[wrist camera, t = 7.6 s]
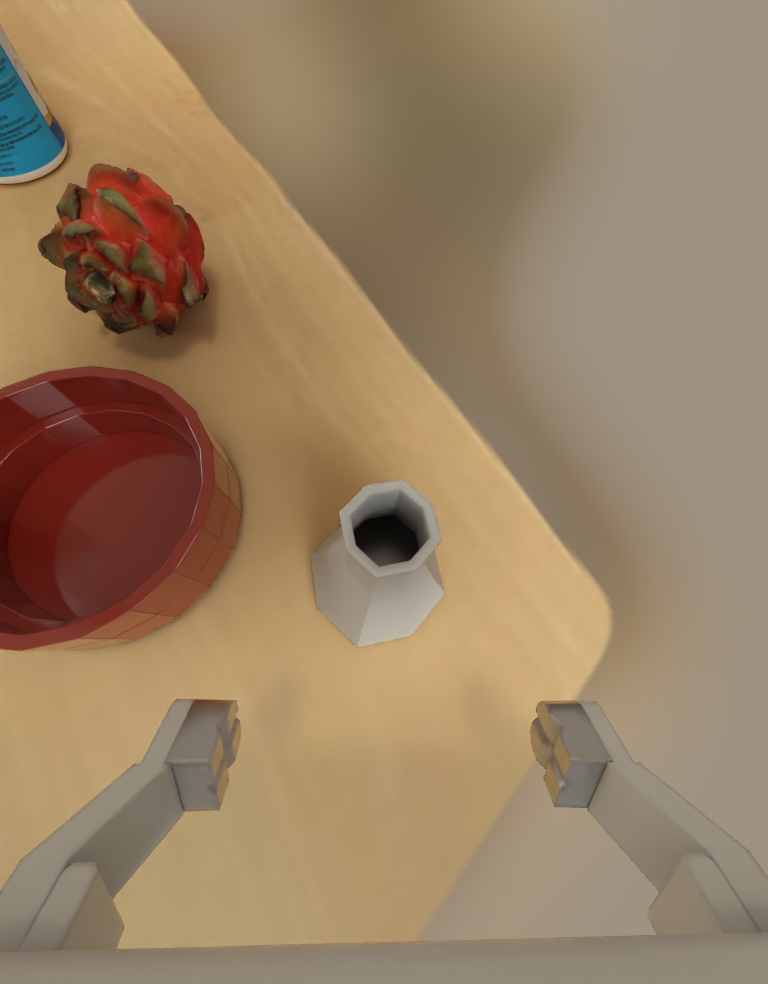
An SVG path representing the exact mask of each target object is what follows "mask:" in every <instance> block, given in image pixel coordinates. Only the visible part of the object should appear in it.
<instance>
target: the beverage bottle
mask: <svg viewBox="0 0 768 984" xmlns="http://www.w3.org/2000/svg"><path fill="white" fill-rule="evenodd" d="M66 153H67V140H66V137H65V135H64V133H63V131H62V129H61V127H60V126H59V124H58V122H57V121H56V119H55V118H54V116H53V115H52V113H51V111H50V110H49V108H48V106H47V105H46V103H45V101H44V100H43V98H42V96H41V95H40V93H39V91H38V90H37V88H36V86H35V84H34V83H33V81H32V79H31V77H30V76H29V74H28V72H27V70H26V69H25V67H24V65H23V64H22V62H21V60H20V58H19V57H18V55H17V53H16V51H15V50H14V48H13V46H12V44H11V43H10V41H9V39H8V37H7V36H6V34H5V32H4V30H3V29H2V27H1V25H0V184H15V183H22V182H27V181H31V180H34V179H37V178H40V177H42V176H44V175H46V174H48V173H50V172H51V171H53V170H54V169H55V168H57V167H58V166H59V165H60V164H61V162H62V161H63V160H64V158H65V156H66Z"/></svg>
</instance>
